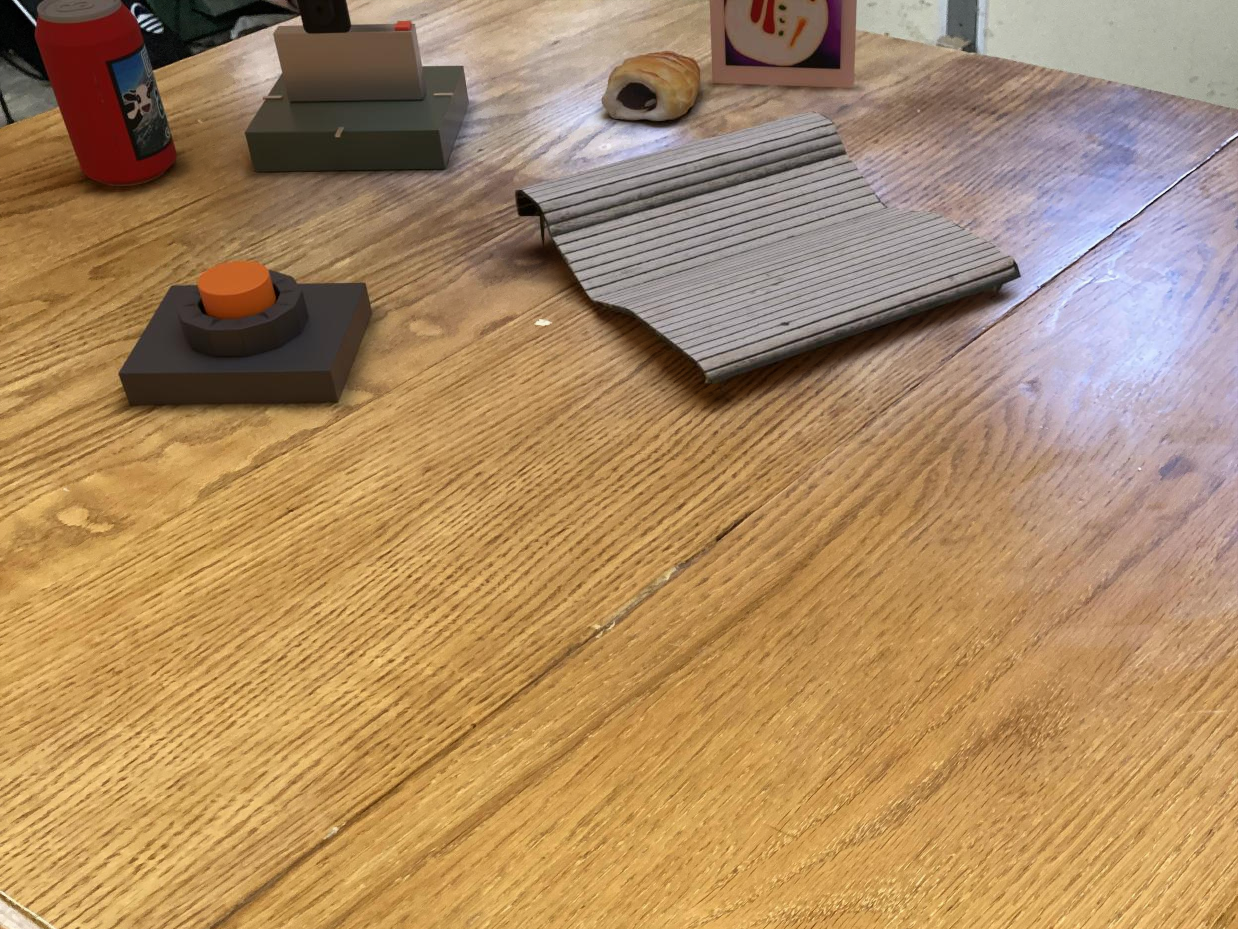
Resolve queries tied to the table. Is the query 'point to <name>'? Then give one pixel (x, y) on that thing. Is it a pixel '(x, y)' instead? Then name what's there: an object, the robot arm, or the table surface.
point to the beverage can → (105, 90)
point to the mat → (755, 245)
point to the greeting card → (783, 42)
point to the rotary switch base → (360, 129)
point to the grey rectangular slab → (351, 63)
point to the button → (236, 290)
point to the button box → (250, 348)
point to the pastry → (652, 87)
